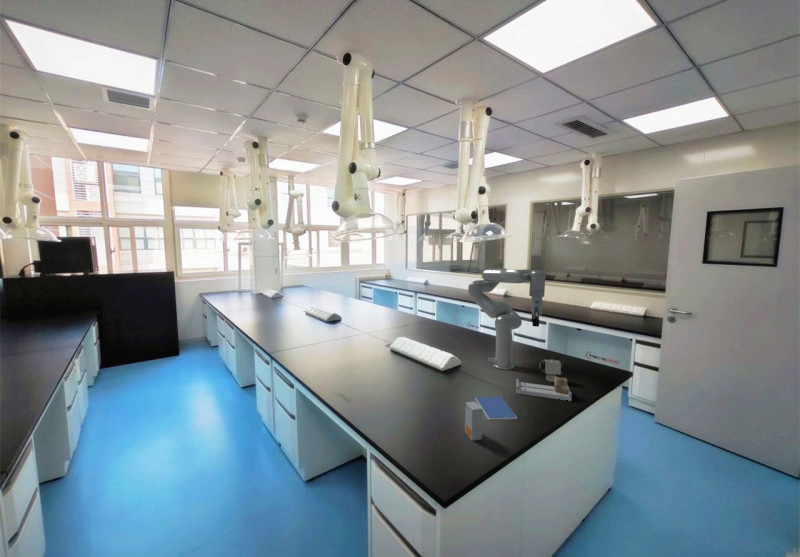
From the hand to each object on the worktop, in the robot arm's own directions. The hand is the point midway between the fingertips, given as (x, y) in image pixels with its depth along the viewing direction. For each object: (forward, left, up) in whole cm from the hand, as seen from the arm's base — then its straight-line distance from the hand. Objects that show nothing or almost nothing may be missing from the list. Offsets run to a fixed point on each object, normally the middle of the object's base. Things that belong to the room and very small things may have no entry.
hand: (535, 324), depth 173 cm
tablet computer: (-18, -44, -31) cm, 57 cm away
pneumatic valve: (+9, -2, -30) cm, 32 cm away
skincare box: (-25, -69, -30) cm, 79 cm away
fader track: (+3, -20, -30) cm, 36 cm away
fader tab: (+11, -20, -28) cm, 36 cm away
